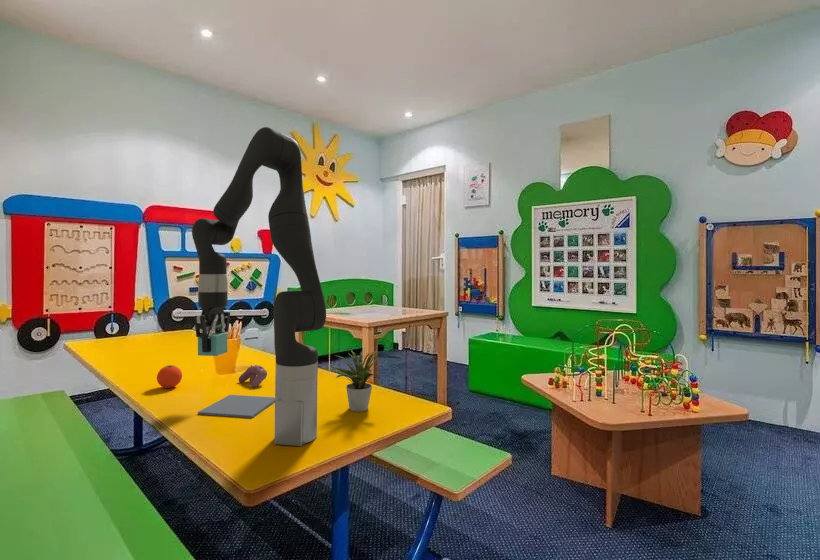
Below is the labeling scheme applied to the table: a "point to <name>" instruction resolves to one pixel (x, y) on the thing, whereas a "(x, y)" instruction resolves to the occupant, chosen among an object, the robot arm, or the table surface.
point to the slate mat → (239, 406)
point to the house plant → (358, 382)
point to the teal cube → (214, 345)
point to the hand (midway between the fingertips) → (213, 349)
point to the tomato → (169, 376)
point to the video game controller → (254, 375)
